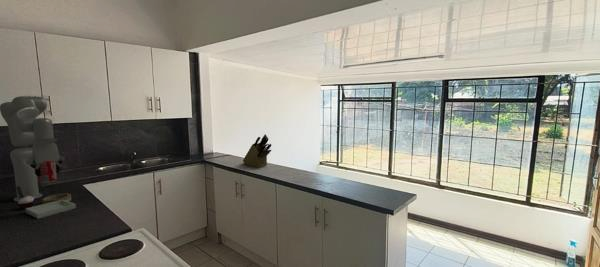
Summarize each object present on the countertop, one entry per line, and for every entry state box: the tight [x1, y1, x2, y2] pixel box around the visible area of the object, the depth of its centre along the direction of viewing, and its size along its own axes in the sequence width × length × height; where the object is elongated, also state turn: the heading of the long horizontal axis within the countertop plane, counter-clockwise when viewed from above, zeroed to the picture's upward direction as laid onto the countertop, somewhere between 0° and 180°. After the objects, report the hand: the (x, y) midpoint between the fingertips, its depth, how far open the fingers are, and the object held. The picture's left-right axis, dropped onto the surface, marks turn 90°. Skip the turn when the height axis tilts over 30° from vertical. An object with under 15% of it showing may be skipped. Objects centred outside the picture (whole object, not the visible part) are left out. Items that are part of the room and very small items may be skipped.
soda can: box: [38, 160, 58, 184], centre depth 144 cm, size 7×7×12 cm
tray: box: [25, 200, 77, 220], centre depth 146 cm, size 16×16×2 cm
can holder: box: [41, 193, 72, 205], centre depth 160 cm, size 12×12×3 cm
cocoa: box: [15, 186, 35, 210], centre depth 150 cm, size 10×6×12 cm, turn 56°
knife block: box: [242, 134, 272, 168], centre depth 256 cm, size 11×35×31 cm, turn 43°
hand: (47, 174), depth 144 cm, fingers closed on soda can, 6 cm apart
